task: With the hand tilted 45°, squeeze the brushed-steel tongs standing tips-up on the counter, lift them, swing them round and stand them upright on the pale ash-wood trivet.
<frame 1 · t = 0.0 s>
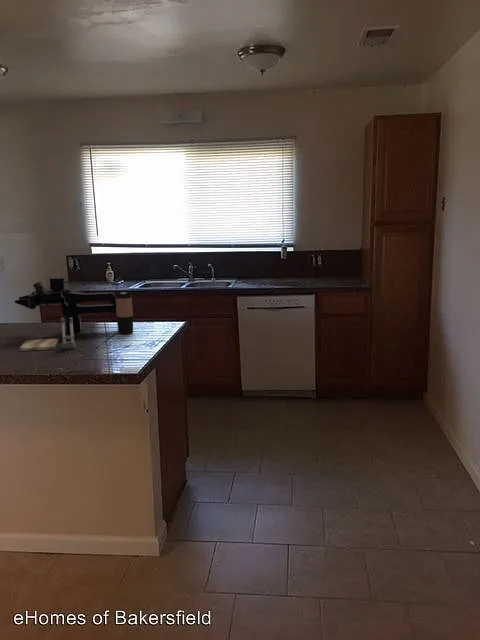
hand: (16, 300, 253), 17 cm above the counter, tool horizontal, fingers open, 9 cm apart
travel mug: (125, 333, 256), on the counter
tongs: (69, 347, 231), on the counter
trivet: (39, 345, 234), on the counter
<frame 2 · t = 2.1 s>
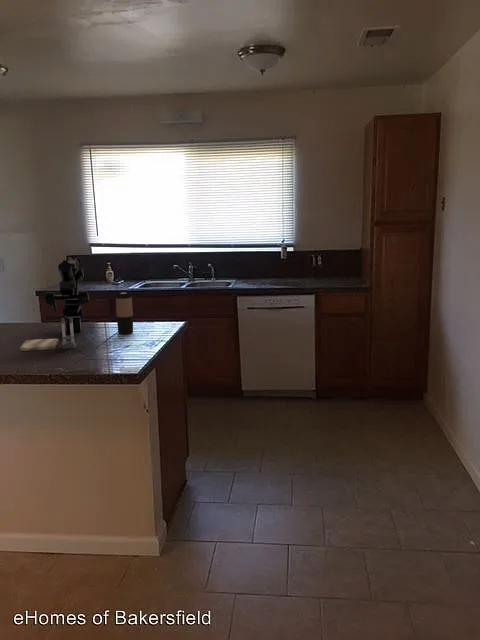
hand: (66, 312, 236), 14 cm above the counter, tool tilted 45°, fingers open, 9 cm apart
nothing on the counter moved.
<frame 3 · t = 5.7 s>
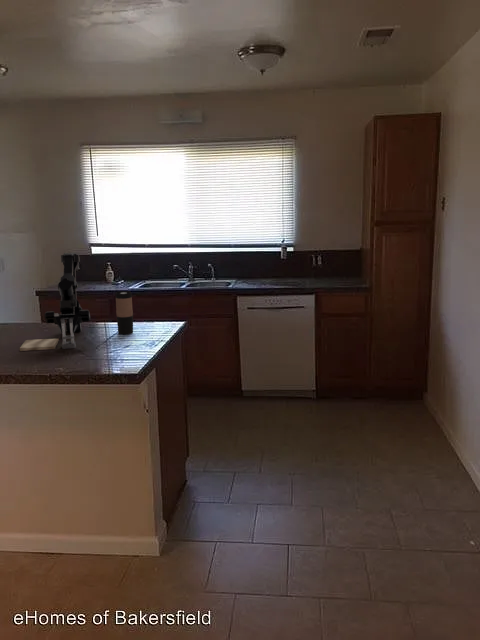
hand: (67, 332, 228), 7 cm above the counter, tool tilted 45°, fingers closed on tongs, 4 cm apart
tongs: (69, 347, 231), on the counter, touching gripper
everything else where it was.
when the fingers open (9 cm above the counter, at t = 9.9 s): tongs drops 1 cm, resting on trivet.
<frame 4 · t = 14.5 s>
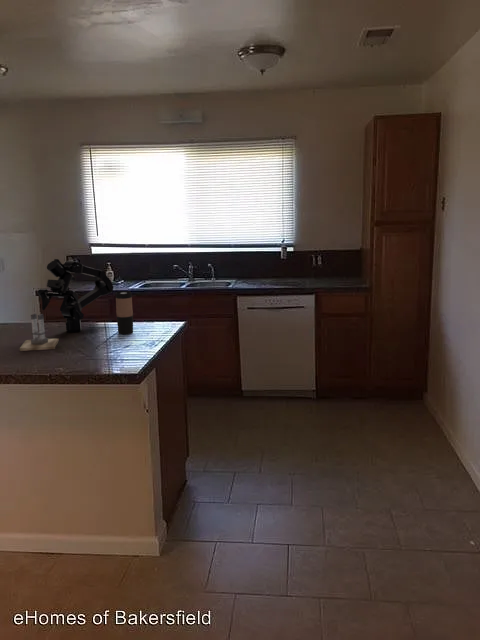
hand: (51, 310, 243), 14 cm above the counter, tool tilted 45°, fingers open, 9 cm apart
tongs: (39, 343, 233), point 1 cm above the counter, touching trivet
everything else where it was.
at the end: tongs inside the target area on the trivet (0.0 cm from its centre), point 1.2 cm above the trivet's base; tongs tilted 0°; the gripper is holding nothing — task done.
